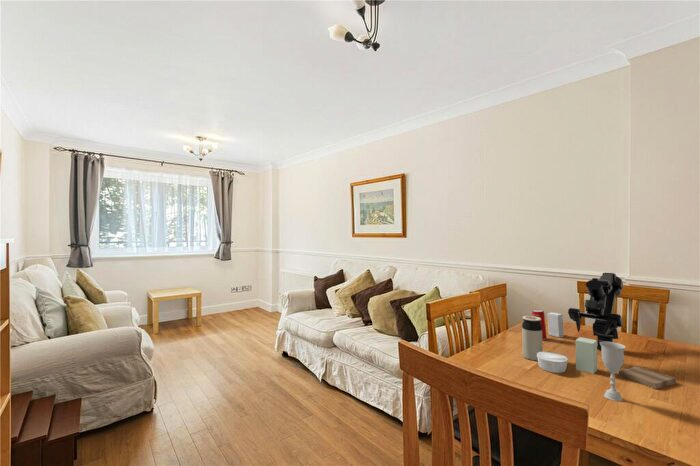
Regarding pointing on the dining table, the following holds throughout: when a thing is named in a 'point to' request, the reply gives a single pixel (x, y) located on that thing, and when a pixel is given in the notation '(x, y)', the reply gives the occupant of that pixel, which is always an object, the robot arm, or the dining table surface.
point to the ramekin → (552, 362)
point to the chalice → (612, 365)
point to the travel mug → (531, 337)
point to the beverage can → (541, 315)
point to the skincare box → (555, 324)
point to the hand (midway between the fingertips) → (590, 333)
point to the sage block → (586, 355)
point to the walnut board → (647, 377)
